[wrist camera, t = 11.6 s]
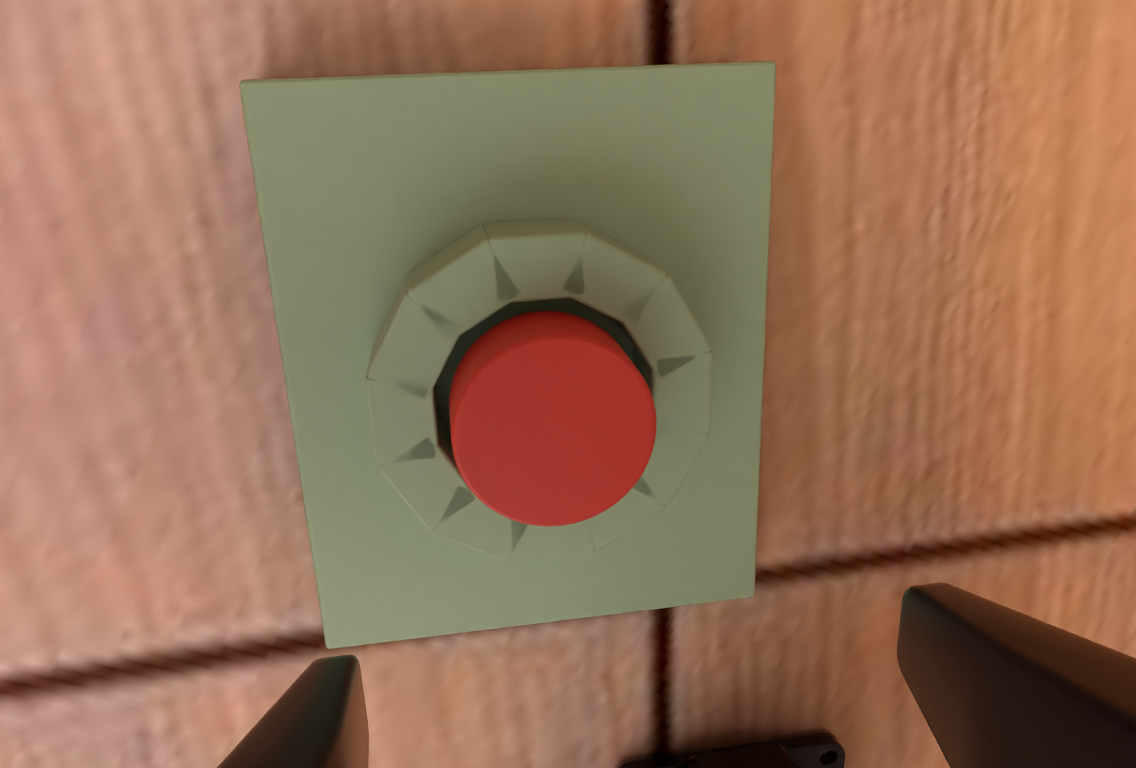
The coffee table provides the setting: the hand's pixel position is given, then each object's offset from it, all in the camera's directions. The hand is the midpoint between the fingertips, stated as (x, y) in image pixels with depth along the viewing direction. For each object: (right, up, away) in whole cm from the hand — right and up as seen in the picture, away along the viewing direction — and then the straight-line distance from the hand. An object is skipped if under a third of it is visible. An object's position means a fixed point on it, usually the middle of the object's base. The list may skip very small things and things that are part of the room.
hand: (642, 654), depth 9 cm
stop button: (-1, +3, +7) cm, 8 cm away
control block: (-2, +4, +10) cm, 11 cm away
